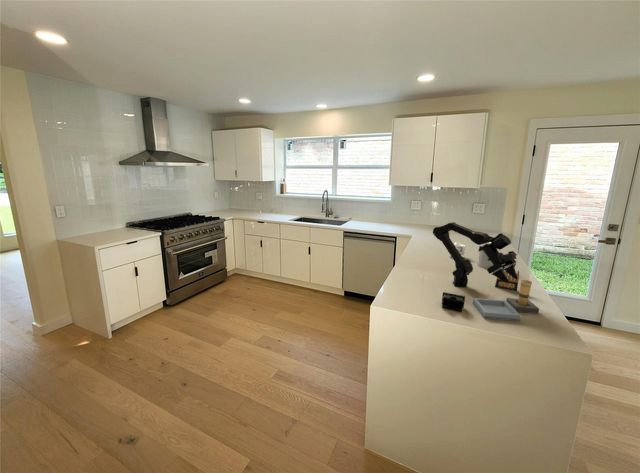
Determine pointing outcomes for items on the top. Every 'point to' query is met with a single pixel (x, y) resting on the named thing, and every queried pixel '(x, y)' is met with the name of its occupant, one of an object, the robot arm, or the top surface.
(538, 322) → the top surface
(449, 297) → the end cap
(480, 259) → the jar
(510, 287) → the ammunition clip
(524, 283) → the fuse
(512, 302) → the block
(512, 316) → the parts tray
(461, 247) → the mechanical part
